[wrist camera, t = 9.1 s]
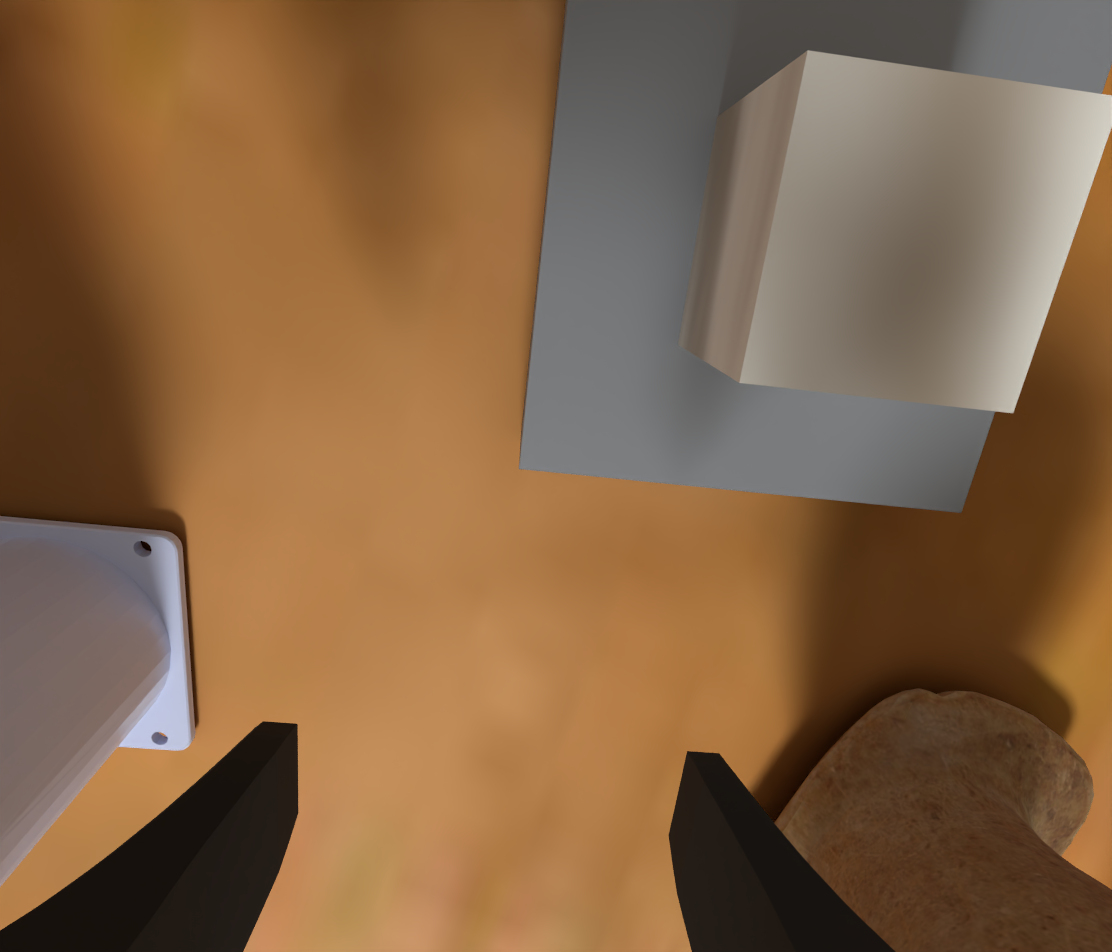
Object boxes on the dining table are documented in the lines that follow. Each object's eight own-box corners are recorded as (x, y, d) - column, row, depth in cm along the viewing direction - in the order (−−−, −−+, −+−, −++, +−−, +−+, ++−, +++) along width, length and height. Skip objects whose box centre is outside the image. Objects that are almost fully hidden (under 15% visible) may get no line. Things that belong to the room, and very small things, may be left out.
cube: (678, 344, 16) (738, 383, 11) (717, 116, 14) (807, 49, 10) (874, 367, 16) (1013, 413, 12) (933, 147, 15) (1122, 97, 10)
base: (520, 438, 20) (519, 469, 17) (569, -36, 16) (577, -99, 13) (902, 477, 21) (961, 513, 18) (1033, 36, 17) (1135, -8, 14)
